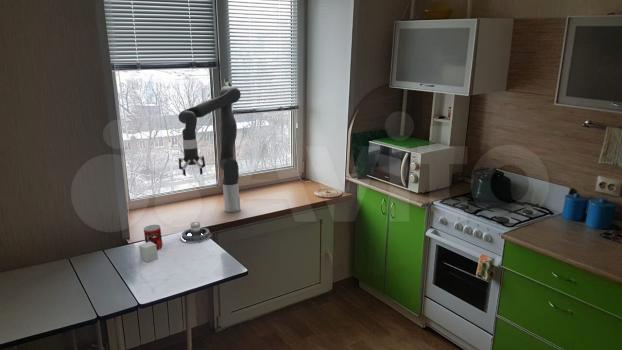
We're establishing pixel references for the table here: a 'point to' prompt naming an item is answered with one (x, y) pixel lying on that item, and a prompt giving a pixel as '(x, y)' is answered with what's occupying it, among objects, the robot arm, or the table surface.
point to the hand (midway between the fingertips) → (193, 175)
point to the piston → (195, 229)
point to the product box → (148, 251)
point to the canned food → (153, 235)
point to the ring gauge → (200, 238)
